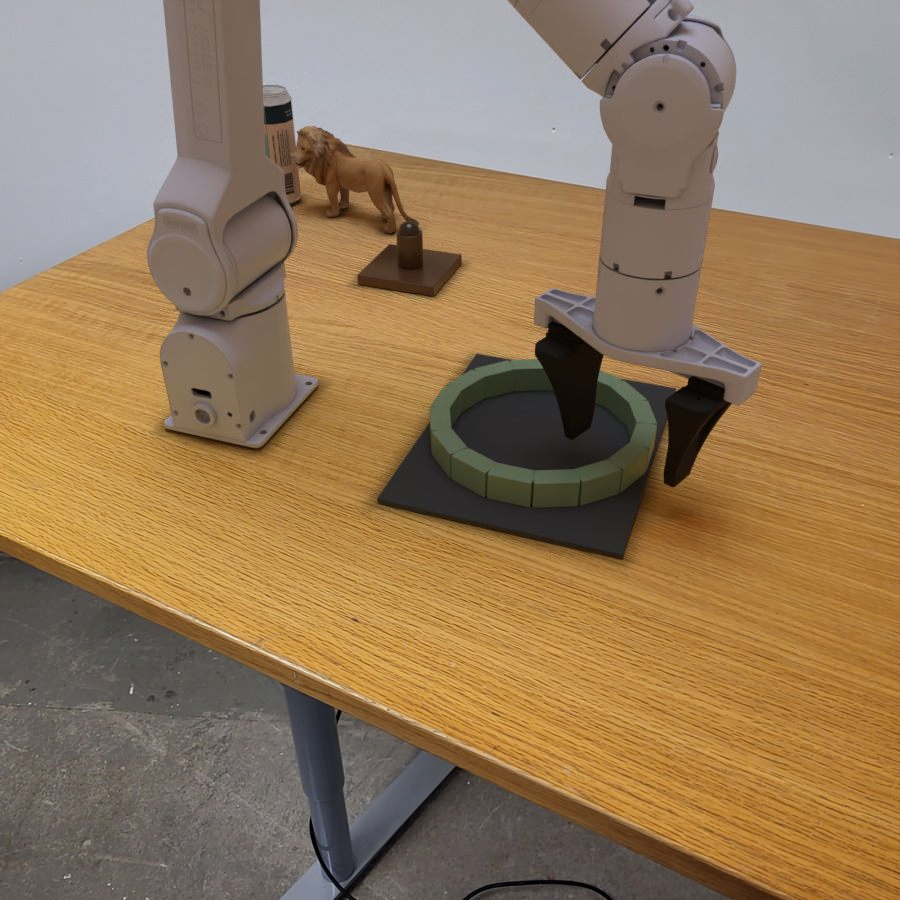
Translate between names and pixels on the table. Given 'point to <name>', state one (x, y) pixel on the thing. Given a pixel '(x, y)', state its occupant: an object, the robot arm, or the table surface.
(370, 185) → the lion figurine
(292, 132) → the beer can
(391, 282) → the peg stand
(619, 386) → the ring
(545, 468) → the mat
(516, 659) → the table surface
